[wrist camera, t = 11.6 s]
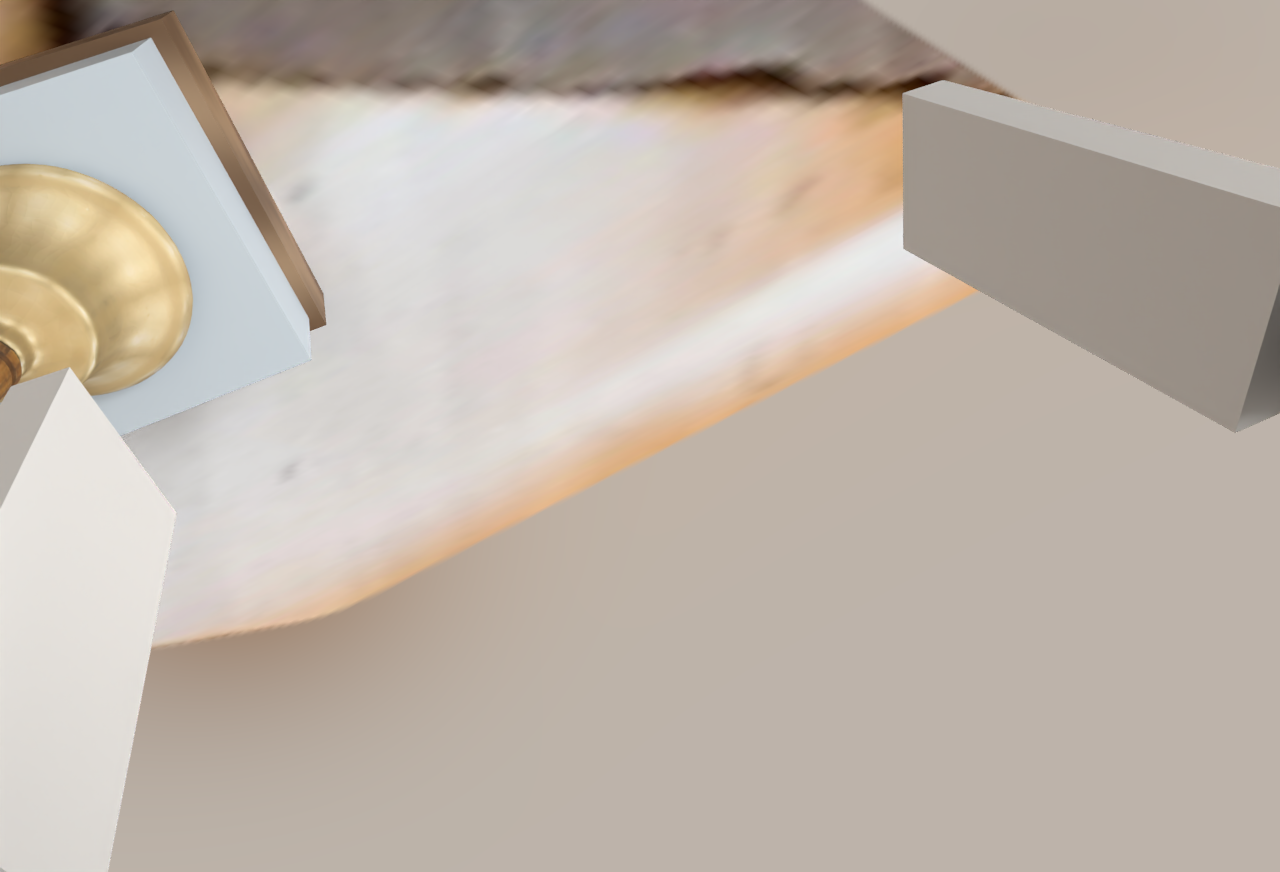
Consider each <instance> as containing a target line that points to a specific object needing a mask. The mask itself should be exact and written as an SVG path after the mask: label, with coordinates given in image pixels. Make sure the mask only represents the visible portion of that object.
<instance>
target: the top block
mask: <svg viewBox="0 0 1280 872" xmlns="http://www.w3.org/2000/svg"><path fill="white" fill-rule="evenodd" d="M11 164H39V165H49V166H56V167H60V168H65V169H69V170H72V171H76V172H79V173H82V174H85V175H88V176H90V177H93V178H95V179H97V180H99V181H102V182H104V183H106V184H108V185H110V186H112V187H114V188H115V189H117V190H119V191H120V192H122V193H124V194H125V195H127V196H128V197H129V198H131V199H133V200H134V201H135V202H137V203H138V204H139V205H140V206H142V207H143V208H144V209H145V210H147V211H148V212H149V213H150V214H151V215H152V216H153V217H154V218H155V219H156V220H157V221H158V222H159V223H160V224H161V226H162V227H163V228H164V229H165V231H166V232H167V233H168V235H169V236H170V237H171V239H172V240H173V242H174V243H175V244H176V246H177V248H178V250H179V252H180V254H181V256H182V258H183V260H184V263H185V265H186V268H187V271H188V273H189V277H190V281H191V287H192V294H193V308H192V317H191V323H190V326H189V329H188V332H187V335H186V337H185V339H184V341H183V343H182V345H181V346H180V348H179V350H178V351H177V352H176V353H175V355H174V356H173V357H172V358H171V359H170V361H169V362H168V363H167V364H166V365H165V366H164V367H163V368H161V369H160V370H159V371H157V372H156V373H155V374H153V375H152V376H150V377H149V378H147V379H145V380H144V381H142V382H140V383H138V384H136V385H134V386H131V387H128V388H126V389H122V390H119V391H116V392H111V393H108V394H102V395H95V396H91V397H92V398H93V400H94V401H95V402H96V404H97V405H98V406H99V408H100V409H101V410H102V412H103V413H104V415H105V416H106V417H107V419H108V420H109V421H110V423H111V424H112V426H113V427H114V428H115V430H116V431H117V432H118V434H119V435H120V436H122V435H125V434H127V433H130V432H132V431H135V430H137V429H140V428H142V427H145V426H147V425H150V424H152V423H155V422H157V421H160V420H163V419H165V418H168V417H170V416H173V415H175V414H178V413H180V412H183V411H185V410H188V409H190V408H193V407H195V406H198V405H200V404H203V403H205V402H208V401H210V400H213V399H215V398H218V397H220V396H223V395H225V394H228V393H230V392H233V391H235V390H238V389H240V388H243V387H245V386H248V385H251V384H253V383H256V382H258V381H261V380H263V379H266V378H268V377H271V376H273V375H276V374H278V373H281V372H283V371H286V370H288V369H291V368H293V367H296V366H298V365H301V364H303V363H306V362H308V361H311V343H310V326H309V318H308V316H307V314H306V312H305V311H304V309H303V307H302V305H301V303H300V302H299V300H298V298H297V296H296V294H295V293H294V291H293V289H292V287H291V286H290V284H289V282H288V280H287V278H286V277H285V275H284V273H283V271H282V270H281V268H280V266H279V264H278V262H277V261H276V259H275V257H274V255H273V254H272V252H271V250H270V248H269V246H268V245H267V243H266V241H265V239H264V238H263V236H262V234H261V232H260V230H259V229H258V227H257V225H256V223H255V222H254V220H253V218H252V216H251V214H250V213H249V211H248V209H247V207H246V206H245V204H244V202H243V200H242V198H241V197H240V195H239V193H238V191H237V190H236V188H235V186H234V184H233V182H232V181H231V179H230V177H229V175H228V174H227V172H226V170H225V168H224V166H223V165H222V163H221V161H220V159H219V158H218V156H217V154H216V152H215V150H214V149H213V147H212V145H211V143H210V141H209V140H208V138H207V136H206V134H205V133H204V131H203V129H202V127H201V125H200V124H199V122H198V120H197V118H196V117H195V115H194V113H193V111H192V109H191V108H190V106H189V104H188V102H187V101H186V99H185V97H184V95H183V93H182V92H181V90H180V88H179V86H178V85H177V83H176V81H175V79H174V77H173V76H172V74H171V72H170V70H169V69H168V67H167V65H166V63H165V61H164V60H163V58H162V56H161V54H160V53H159V51H158V49H157V47H156V45H155V44H154V42H153V40H152V38H151V37H150V38H147V39H144V40H141V41H138V42H135V43H132V44H129V45H126V46H123V47H120V48H117V49H114V50H111V51H108V52H105V53H102V54H99V55H96V56H93V57H89V58H86V59H83V60H80V61H77V62H74V63H71V64H68V65H65V66H62V67H59V68H56V69H53V70H50V71H47V72H44V73H41V74H38V75H35V76H31V77H28V78H25V79H22V80H19V81H16V82H13V83H10V84H7V85H4V86H1V87H0V166H1V165H11ZM0 404H1V403H0Z"/></svg>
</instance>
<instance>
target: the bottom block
mask: <svg viewBox="0 0 1280 872" xmlns="http://www.w3.org/2000/svg"><path fill="white" fill-rule="evenodd" d="M150 37H151V38H152V40H153V42H154V44H155V45H156V47H157V49H158V51H159V53H160V54H161V56H162V58H163V60H164V61H165V63H166V65H167V67H168V69H169V70H170V72H171V74H172V76H173V77H174V79H175V81H176V83H177V85H178V86H179V88H180V90H181V92H182V93H183V95H184V97H185V99H186V101H187V102H188V104H189V106H190V108H191V109H192V111H193V113H194V115H195V117H196V118H197V120H198V122H199V124H200V125H201V127H202V129H203V131H204V133H205V134H206V136H207V138H208V140H209V141H210V143H211V145H212V147H213V149H214V150H215V152H216V154H217V156H218V158H219V159H220V161H221V163H222V165H223V166H224V168H225V170H226V172H227V174H228V175H229V177H230V179H231V181H232V182H233V184H234V186H235V188H236V190H237V191H238V193H239V195H240V197H241V198H242V200H243V202H244V204H245V206H246V207H247V209H248V211H249V213H250V214H251V216H252V218H253V220H254V222H255V223H256V225H257V227H258V229H259V230H260V232H261V234H262V236H263V238H264V239H265V241H266V243H267V245H268V246H269V248H270V250H271V252H272V254H273V255H274V257H275V259H276V261H277V262H278V264H279V266H280V268H281V270H282V271H283V273H284V275H285V277H286V278H287V280H288V282H289V284H290V286H291V287H292V289H293V291H294V293H295V294H296V296H297V298H298V300H299V302H300V303H301V305H302V307H303V309H304V311H305V312H306V314H307V316H308V318H309V326H310V331H311V330H314V329H317V328H319V327H322V326H324V325H326V318H325V307H324V297H323V292H322V290H321V288H320V287H319V285H318V283H317V281H316V279H315V277H314V275H313V273H312V271H311V270H310V268H309V266H308V264H307V262H306V260H305V258H304V256H303V254H302V253H301V251H300V249H299V247H298V245H297V243H296V241H295V239H294V237H293V236H292V234H291V232H290V230H289V228H288V226H287V224H286V222H285V220H284V219H283V217H282V215H281V213H280V211H279V209H278V207H277V205H276V203H275V201H274V200H273V198H272V196H271V194H270V192H269V190H268V188H267V186H266V184H265V183H264V181H263V179H262V177H261V175H260V173H259V171H258V169H257V167H256V166H255V164H254V162H253V160H252V158H251V156H250V154H249V152H248V150H247V149H246V147H245V145H244V143H243V141H242V139H241V137H240V135H239V133H238V132H237V130H236V128H235V126H234V124H233V122H232V120H231V118H230V116H229V115H228V113H227V111H226V109H225V107H224V105H223V103H222V101H221V99H220V97H219V96H218V94H217V92H216V90H215V88H214V86H213V84H212V82H211V80H210V79H209V77H208V75H207V73H206V71H205V69H204V67H203V65H202V63H201V62H200V60H199V58H198V56H197V54H196V52H195V50H194V48H193V46H192V45H191V43H190V41H189V39H188V37H187V35H186V33H185V31H184V29H183V28H182V26H181V24H180V22H179V20H178V18H177V16H176V14H175V12H174V11H171V12H167V13H164V14H161V15H158V16H155V17H152V18H148V19H145V20H142V21H139V22H136V23H132V24H129V25H126V26H123V27H120V28H116V29H113V30H110V31H107V32H104V33H101V34H97V35H94V36H91V37H88V38H85V39H81V40H78V41H75V42H72V43H69V44H65V45H62V46H59V47H56V48H53V49H50V50H46V51H43V52H40V53H37V54H34V55H30V56H27V57H24V58H21V59H18V60H14V61H11V62H8V63H5V64H2V65H0V87H1V86H4V85H7V84H10V83H13V82H16V81H19V80H22V79H25V78H28V77H31V76H35V75H38V74H41V73H44V72H47V71H50V70H53V69H56V68H59V67H62V66H65V65H68V64H71V63H74V62H77V61H80V60H83V59H86V58H89V57H93V56H96V55H99V54H102V53H105V52H108V51H111V50H114V49H117V48H120V47H123V46H126V45H129V44H132V43H135V42H138V41H141V40H144V39H147V38H150Z"/></svg>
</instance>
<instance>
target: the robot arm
mask: <svg viewBox="0 0 1280 872" xmlns="http://www.w3.org/2000/svg"><path fill="white" fill-rule="evenodd" d="M903 245H904V249H905V250H907V251H909V252H910V253H912V254H914V255H916V256H918V257H919V258H921V259H923V260H925V261H927V262H928V263H930V264H932V265H934V266H936V267H937V268H939V269H941V270H943V271H945V272H946V273H948V274H950V275H952V276H954V277H955V278H957V279H959V280H961V281H963V282H964V283H966V284H968V285H970V286H972V287H973V288H975V289H977V290H979V291H981V292H982V293H984V294H986V295H988V296H990V297H991V298H993V299H995V300H997V301H999V302H1000V303H1002V304H1004V305H1006V306H1008V307H1009V308H1011V309H1013V310H1015V311H1017V312H1018V313H1020V314H1022V315H1024V316H1026V317H1027V318H1029V319H1031V320H1033V321H1035V322H1036V323H1038V324H1040V325H1042V326H1044V327H1046V328H1047V329H1049V330H1051V331H1053V332H1055V333H1056V334H1058V335H1060V336H1062V337H1063V338H1065V339H1067V340H1069V341H1071V342H1072V343H1074V344H1076V345H1078V346H1080V347H1081V348H1083V349H1085V350H1087V351H1089V352H1090V353H1092V354H1094V355H1096V356H1098V357H1099V358H1101V359H1103V360H1105V361H1107V362H1108V363H1110V364H1112V365H1114V366H1116V367H1118V368H1119V369H1121V370H1123V371H1125V372H1126V373H1128V374H1130V375H1132V376H1134V377H1136V378H1137V379H1139V380H1141V381H1143V382H1144V383H1146V384H1148V385H1150V386H1152V387H1153V388H1155V389H1157V390H1159V391H1161V392H1163V393H1164V394H1166V395H1168V396H1170V397H1172V398H1173V399H1175V400H1177V401H1179V402H1180V403H1182V404H1184V405H1186V406H1188V407H1189V408H1191V409H1193V410H1195V411H1197V412H1198V413H1200V414H1202V415H1204V416H1206V417H1207V418H1209V419H1211V420H1213V421H1215V422H1217V423H1218V424H1220V425H1222V426H1224V427H1225V428H1227V429H1229V430H1231V431H1233V432H1234V433H1236V432H1238V431H1241V430H1243V429H1245V428H1247V427H1250V426H1252V425H1254V424H1257V423H1259V422H1261V421H1263V420H1266V419H1268V418H1270V417H1272V416H1275V415H1277V414H1279V413H1280V168H1276V167H1272V166H1268V165H1264V164H1261V163H1257V162H1253V161H1249V160H1245V159H1242V158H1238V157H1234V156H1230V155H1226V154H1223V153H1219V152H1215V151H1211V150H1207V149H1203V148H1199V147H1196V146H1192V145H1188V144H1184V143H1181V142H1177V141H1173V140H1169V139H1165V138H1162V137H1158V136H1154V135H1150V134H1146V133H1142V132H1139V131H1135V130H1131V129H1127V128H1123V127H1119V126H1116V125H1112V124H1108V123H1104V122H1101V121H1097V120H1093V119H1089V118H1085V117H1081V116H1077V115H1074V114H1070V113H1066V112H1062V111H1058V110H1055V109H1050V108H1047V107H1043V106H1040V105H1036V104H1032V103H1028V102H1024V101H1021V100H1017V99H1013V98H1009V97H1005V96H1001V95H998V94H994V93H990V92H986V91H982V90H979V89H975V88H971V87H967V86H963V85H960V84H956V83H952V82H948V81H944V80H942V81H939V82H936V83H933V84H930V85H927V86H924V87H921V88H918V89H915V90H912V91H908V92H905V93H903ZM176 516H177V513H176V512H175V510H174V509H173V508H172V506H171V505H170V503H169V502H168V501H167V499H166V498H165V497H164V495H163V494H162V492H161V491H160V490H159V488H158V487H157V486H156V484H155V483H154V482H153V480H152V479H151V477H150V476H149V475H148V473H147V472H146V471H145V469H144V468H143V467H142V465H141V464H140V462H139V461H138V460H137V458H136V457H135V456H134V454H133V453H132V451H131V450H130V449H129V447H128V446H127V445H126V443H125V442H124V441H123V439H122V438H121V436H120V435H119V434H118V432H117V431H116V430H115V428H114V427H113V426H112V424H111V423H110V421H109V420H108V419H107V417H106V416H105V415H104V413H103V412H102V410H101V409H100V408H99V406H98V405H97V404H96V402H95V401H94V400H93V398H92V397H91V395H90V394H89V393H88V391H87V390H86V389H85V387H84V386H83V385H82V383H81V382H80V380H79V379H78V378H77V376H76V375H75V374H74V372H73V371H72V370H71V368H70V367H68V368H65V369H62V370H59V371H56V372H53V373H50V374H47V375H44V376H41V377H38V378H35V379H32V380H29V381H26V382H23V383H19V384H16V385H13V386H11V387H10V389H9V391H8V392H7V394H6V396H5V397H4V399H3V401H2V402H1V404H0V872H108V868H109V863H110V858H111V853H112V848H113V842H114V837H115V832H116V827H117V822H118V817H119V811H120V806H121V801H122V796H123V790H124V785H125V780H126V775H127V769H128V764H129V759H130V754H131V749H132V744H133V739H134V734H135V728H136V723H137V718H138V713H139V707H140V702H141V697H142V692H143V687H144V682H145V676H146V671H147V666H148V661H149V656H150V651H151V645H152V640H153V635H154V630H155V625H156V619H157V614H158V609H159V604H160V599H161V593H162V588H163V583H164V578H165V573H166V567H167V562H168V557H169V552H170V547H171V542H172V536H173V531H174V526H175V521H176Z"/></svg>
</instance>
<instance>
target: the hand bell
mask: <svg viewBox="0 0 1280 872" xmlns="http://www.w3.org/2000/svg"><path fill="white" fill-rule="evenodd" d="M192 308H193V294H192V287H191V281H190V277H189V273H188V271H187V268H186V265H185V263H184V260H183V258H182V256H181V254H180V252H179V250H178V248H177V246H176V244H175V243H174V242H173V240H172V239H171V237H170V236H169V235H168V233H167V232H166V231H165V229H164V228H163V227H162V226H161V224H160V223H159V222H158V221H157V220H156V219H155V218H154V217H153V216H152V215H151V214H150V213H149V212H148V211H147V210H145V209H144V208H143V207H142V206H140V205H139V204H138V203H137V202H135V201H134V200H133V199H131V198H129V197H128V196H127V195H125V194H124V193H122V192H120V191H119V190H117V189H115V188H114V187H112V186H110V185H108V184H106V183H104V182H102V181H99V180H97V179H95V178H93V177H90V176H88V175H85V174H82V173H79V172H76V171H72V170H69V169H65V168H60V167H56V166H49V165H39V164H11V165H1V166H0V403H1V402H2V401H3V399H4V397H5V396H6V394H7V392H8V391H9V389H10V387H11V386H13V385H16V384H19V383H23V382H26V381H29V380H32V379H35V378H38V377H41V376H44V375H47V374H50V373H53V372H56V371H59V370H62V369H65V368H68V367H70V368H71V370H72V371H73V372H74V374H75V375H76V376H77V378H78V379H79V380H80V382H81V383H82V385H83V386H84V387H85V389H86V390H87V391H88V393H89V394H90V395H91V396H95V395H102V394H108V393H111V392H116V391H119V390H122V389H126V388H128V387H131V386H134V385H136V384H138V383H140V382H142V381H144V380H145V379H147V378H149V377H150V376H152V375H153V374H155V373H156V372H157V371H159V370H160V369H161V368H163V367H164V366H165V365H166V364H167V363H168V362H169V361H170V359H171V358H172V357H173V356H174V355H175V353H176V352H177V351H178V350H179V348H180V346H181V345H182V343H183V341H184V339H185V337H186V335H187V332H188V329H189V326H190V323H191V317H192Z"/></svg>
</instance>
